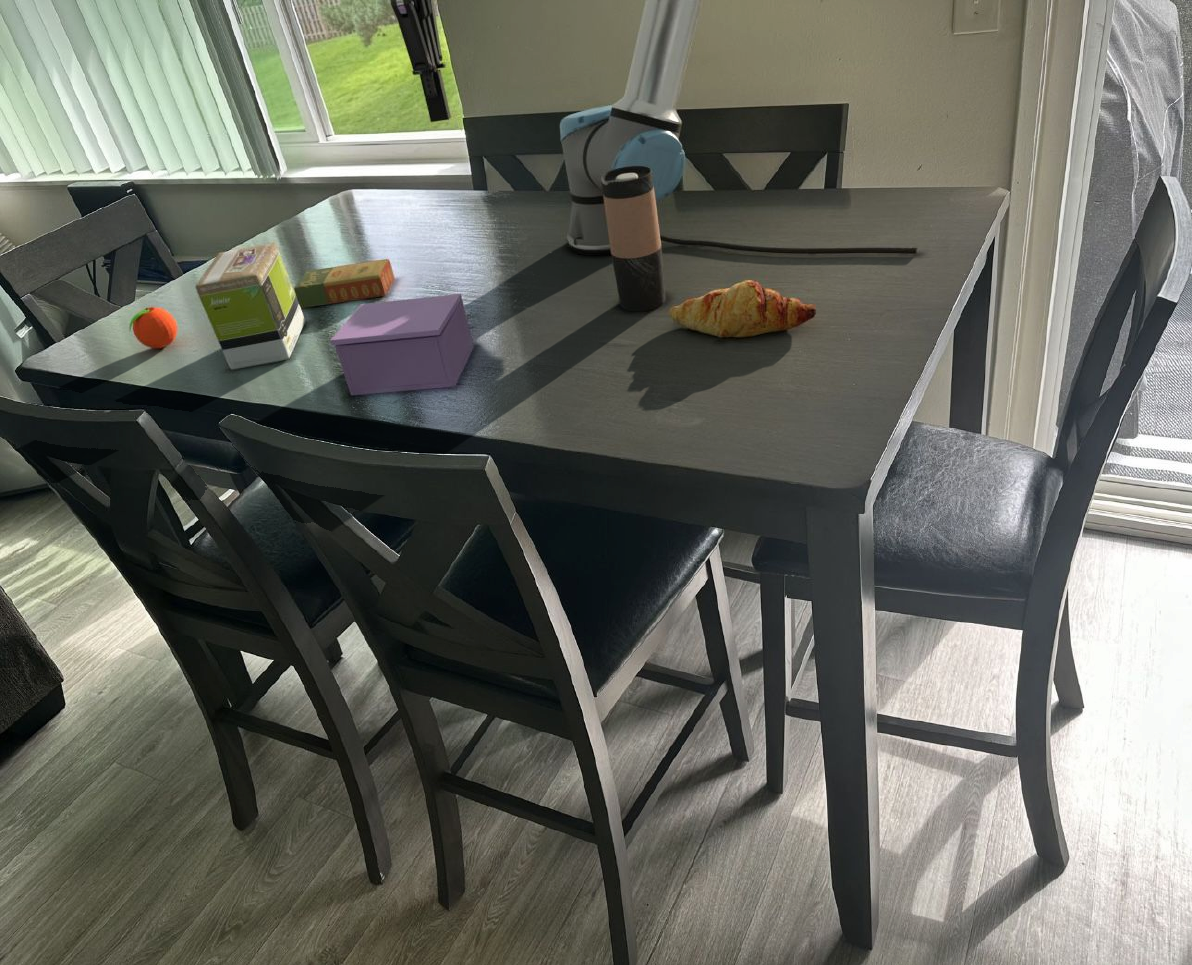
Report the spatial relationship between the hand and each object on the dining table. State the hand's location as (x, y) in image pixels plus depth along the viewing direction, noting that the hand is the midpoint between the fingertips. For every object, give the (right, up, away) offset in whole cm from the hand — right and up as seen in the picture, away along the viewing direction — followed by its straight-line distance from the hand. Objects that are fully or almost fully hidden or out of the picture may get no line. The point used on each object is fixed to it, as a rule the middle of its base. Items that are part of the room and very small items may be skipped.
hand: (440, 119), depth 135 cm
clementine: (-53, -30, +26) cm, 66 cm away
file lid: (-6, -30, -3) cm, 30 cm away
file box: (-4, -36, +2) cm, 37 cm away
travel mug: (+30, -25, +11) cm, 40 cm away
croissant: (+43, -30, -2) cm, 53 cm away
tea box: (-31, -30, +19) cm, 48 cm away
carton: (-22, -19, +34) cm, 45 cm away
